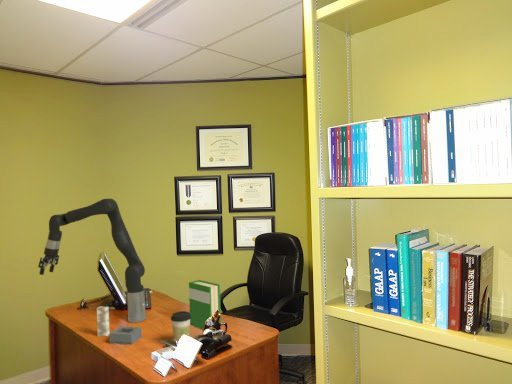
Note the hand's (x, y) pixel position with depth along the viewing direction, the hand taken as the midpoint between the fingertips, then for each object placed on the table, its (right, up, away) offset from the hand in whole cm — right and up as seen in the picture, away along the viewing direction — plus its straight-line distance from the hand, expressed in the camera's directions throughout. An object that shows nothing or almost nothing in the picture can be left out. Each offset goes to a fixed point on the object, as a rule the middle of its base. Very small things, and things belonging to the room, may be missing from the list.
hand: (46, 273), depth 227 cm
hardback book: (+98, -26, -18) cm, 103 cm away
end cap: (+59, -27, -33) cm, 73 cm away
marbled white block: (+45, -27, -26) cm, 59 cm away
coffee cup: (+90, -27, -41) cm, 102 cm away
